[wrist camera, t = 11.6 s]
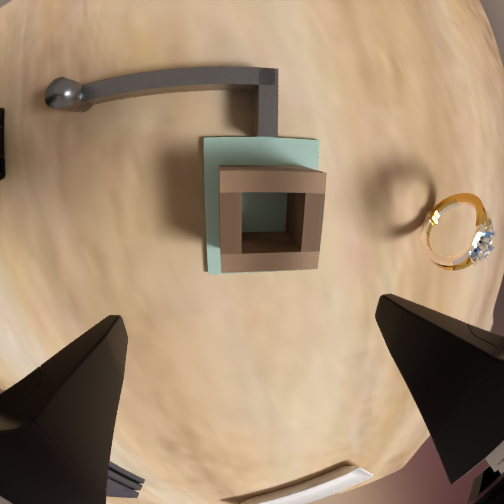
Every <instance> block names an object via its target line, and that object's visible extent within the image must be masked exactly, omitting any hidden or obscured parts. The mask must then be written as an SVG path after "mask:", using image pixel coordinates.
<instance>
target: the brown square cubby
mask: <svg viewBox="0 0 504 504" xmlns="http://www.w3.org/2000/svg"><path fill="white" fill-rule="evenodd" d="M325 188H326V173H324V172H321V171H318V170H314V169H311V168H308V167H300V166H273V165H219V228H220V258H221V273H238V272H263V271H286V270H306V269H317V268H318V260H319V251H320V242H321V233H322V223H323V212H324V201H325ZM242 192H286V193H288V194H287V213H286V231H278V232H242Z"/></svg>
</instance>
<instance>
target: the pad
mask: <svg viewBox="0 0 504 504" xmlns="http://www.w3.org/2000/svg"><path fill="white" fill-rule="evenodd" d="M318 158H319V140H309V139H294V138H272V137H208V138H204V195H205V223H206V244H207V262H208V274H230V273H221V258H220V228H219V165H273V166H300V167H308V168H311V169H314V170H318ZM287 194H288V193H286V192H242V232H278V231H286V213H287ZM306 270H309V269H306ZM286 271H291V270H286ZM263 272H272V271H263ZM238 273H252V272H238Z"/></svg>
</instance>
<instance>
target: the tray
mask: <svg viewBox="0 0 504 504" xmlns="http://www.w3.org/2000/svg"><path fill="white" fill-rule="evenodd" d="M372 476H373V474H372V473H369V472H367V471H366V470H364V469H363V468H361V467H359V466H343V467H341V468H338V469H336V470H334V471H331V472H329V473H326V474H324V475H322V476H319V477H316V478H314V479H311V480H308V481H306V482H303V483H300V484H297V485H294V486H291V487H288V488H285V489H281V490H278V491H275V492H271V493H267V494H264V495H260V496H256V497H251V498H248V500H247V501H244V502H242V503H240V504H306V503H309V502H312V501H315V500H318V499H321V498H324V497H326V496H329V495H332V494H335V493H337V492H340V491H342V490H345V489H347V488H349V487H352V486H354V485H356V484H358V483H361V482H363V481H365V480H367V479H369V478H371V477H372Z"/></svg>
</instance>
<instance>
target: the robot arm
mask: <svg viewBox="0 0 504 504" xmlns="http://www.w3.org/2000/svg"><path fill="white" fill-rule="evenodd" d="M0 173H1V175H0V180H2V179H4V177H5V160H4V108H0ZM375 318H376V321H377V324H378V326H379V328H380V331H381V333H382V335H383V338H384V340H385V342H386V345H387V347H388V349H389V352H390V354H391V356H392V358H393V359H394V361H395V363H396V365H397V367H398V369H399V371H400V373H401V375H402V377H403V378H404V380H405V382H406V384H407V386H408V388H409V390H410V392H411V394H412V396H413V398H414V400H415V402H416V405H417V407H418V409H419V411H420V413H421V415H422V417H423V419H424V422H425V424H426V426H427V428H428V430H429V433H430V435H431V437H432V439H433V442H434V444H435V447H436V449H437V451H438V453H439V456H440V459H441V461H442V464H443V466H444V469H445V471H446V474H447V476H448V479H449V481H450V483H451V484H453V483H454V482H456V481H457V480H458V479H460V478H461V477H463V476H464V475H466V474H467V473H468V472H469V471H471V470H472V469H473V468H475V467H476V466H477V465H478V464H480V463H481V462H482V461H483V460H484V459H486V460H487V461H488V463H489V465H490V466H488V467H487V468H486V469H485V470H484V471H483V472H481V473H480V474H479V475H478V476H477V477H476V478H474V482H473V486H472V490H471V494H470V497H469V501H468V504H504V337H503V336H500V335H497V334H494V333H491V332H489V331H486V330H483V329H480V328H478V327H475V326H473V325H470V324H466V323H465V322H462V321H460V320H457V319H455V318H452V317H450V316H447V315H445V314H442V313H439V312H437V311H434V310H432V309H429V308H427V307H424V306H422V305H419V304H416V303H414V302H411V301H409V300H406V299H404V298H401V297H398V296H396V295H393V294H385V295H381V296H380V298H379V302H378V306H377V309H376V313H375ZM127 344H128V336H127V332H126V329H125V326H124V322H123V319H122V317H121V316H120V315H109V316H107V317H106V318H105V319H103V320H102V321H100V322H99V323H98V324H96V325H95V326H93V327H92V328H91V329H89V330H88V331H86V332H85V333H84V334H82V335H81V336H80V337H78V338H77V339H75V340H74V341H73V342H71V343H70V344H69V345H67V346H66V347H65V348H63V349H62V350H61V351H59V352H58V353H57V354H55V355H54V356H53V357H51V358H50V359H49V360H47V361H46V362H45V363H43V364H42V365H41V366H40V367H38V368H37V369H35V370H34V371H33V372H31V373H30V374H29V375H27V376H26V377H25V378H23V379H22V380H20V381H19V382H18V383H16V384H15V385H13V386H12V387H10V388H9V389H7V390H5V391H4V392H2V393H1V394H0V504H106V494H107V490H106V489H107V480H108V470H109V461H110V454H111V446H112V439H113V433H114V427H115V421H116V415H117V410H118V404H119V399H120V394H121V389H122V385H123V379H124V371H125V361H126V352H127Z"/></svg>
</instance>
